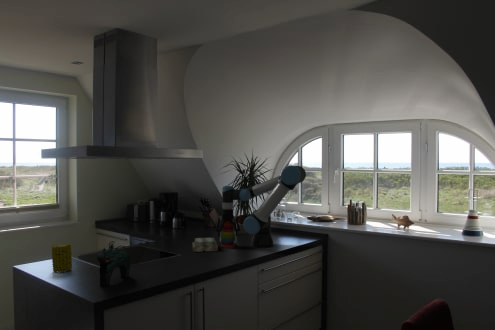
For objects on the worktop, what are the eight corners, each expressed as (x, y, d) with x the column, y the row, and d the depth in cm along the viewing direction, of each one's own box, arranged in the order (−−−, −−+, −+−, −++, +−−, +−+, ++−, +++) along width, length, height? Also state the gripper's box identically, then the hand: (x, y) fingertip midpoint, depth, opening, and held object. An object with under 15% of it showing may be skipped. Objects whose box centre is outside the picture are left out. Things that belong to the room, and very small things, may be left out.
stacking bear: (233, 248, 261) (233, 221, 261) (219, 248, 263) (219, 221, 263) (237, 245, 271) (237, 219, 271) (223, 244, 273) (223, 219, 273)
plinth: (215, 245, 270) (215, 237, 270) (217, 250, 254) (217, 241, 254) (192, 246, 267) (192, 237, 267) (192, 251, 252) (192, 242, 252)
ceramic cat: (105, 288, 180) (104, 244, 180) (94, 286, 182) (93, 243, 182) (132, 276, 198) (132, 236, 198) (122, 275, 201) (122, 236, 201)
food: (57, 277, 202) (51, 274, 210) (80, 267, 210) (73, 265, 218) (49, 249, 200) (43, 247, 208) (72, 241, 208) (66, 239, 216)
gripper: (242, 207, 272) (243, 239, 273) (211, 208, 269) (211, 240, 269) (244, 208, 265) (244, 241, 265) (212, 209, 262) (212, 243, 262)
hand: (227, 241), depth 267 cm, fingers closed on stacking bear, 9 cm apart
